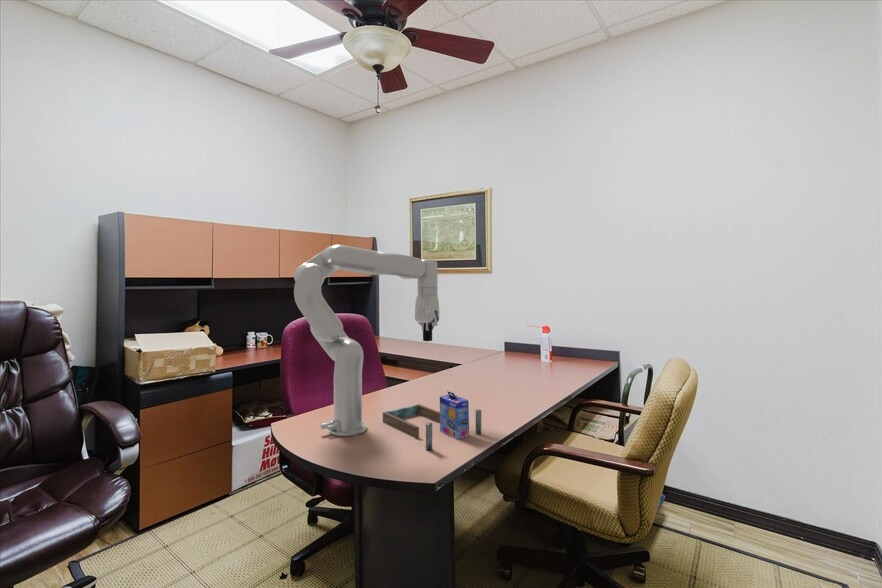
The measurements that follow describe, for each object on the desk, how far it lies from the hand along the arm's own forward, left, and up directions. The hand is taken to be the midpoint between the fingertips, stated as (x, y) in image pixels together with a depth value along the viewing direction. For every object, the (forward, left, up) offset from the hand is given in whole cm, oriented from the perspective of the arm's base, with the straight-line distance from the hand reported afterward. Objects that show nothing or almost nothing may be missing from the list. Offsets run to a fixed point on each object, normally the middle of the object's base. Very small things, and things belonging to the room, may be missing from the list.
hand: (427, 340), depth 158 cm
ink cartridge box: (-4, -20, -29) cm, 36 cm away
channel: (-8, -5, -29) cm, 31 cm away
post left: (-19, -25, -29) cm, 43 cm away
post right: (+2, -25, -29) cm, 38 cm away
